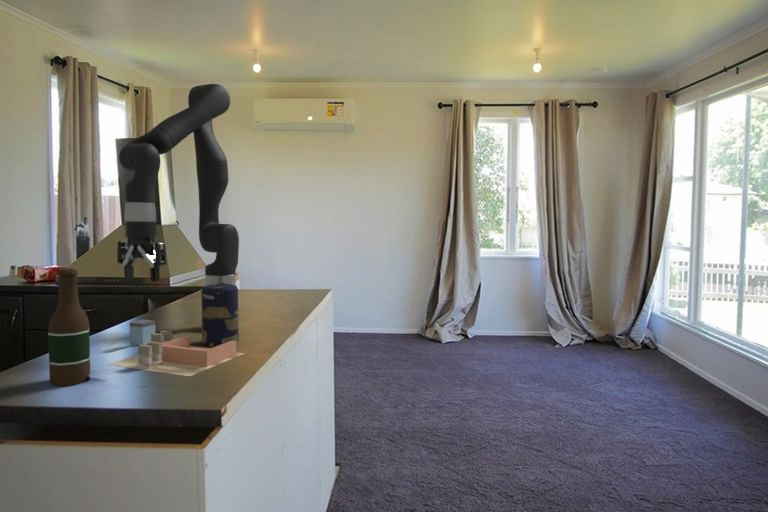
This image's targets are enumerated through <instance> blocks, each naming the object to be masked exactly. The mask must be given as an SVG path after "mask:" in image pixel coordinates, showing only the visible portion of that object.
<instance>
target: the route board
mask: <svg viewBox="0 0 768 512" xmlns="http://www.w3.org/2000/svg"><path fill="white" fill-rule="evenodd" d="M170 340H173V331H171V330H170V331H168V330H161V331H159V333H156V332H155V333H152V334H151V342H148V344H146V345H142V344H141V345H137V352H138V353H137V354H136V355H134V356H130V357H127V358H124V359H121V360H118V361H114V362H111V363H109V364H107V365H108V366H114V367H122V368H128V369H136V370H142V371H150V372H156V373H163V374H170V375H171V374H172V375H175V376H176V375H177V376H185V377H192V376H194V375H197V374H199V373H201V372H204V371H206V370H208V369H212V368H213V367H216V366H218V365H220V364H223V363H225V362H228V361H230V360H233V359H236V358H238V357H240V356H243V355H245V353H244V352H243V353H242V352H239V354H238V355H235V356H233V357H230V358H228V359H226V360H223V361H221V362H218V363H216V364H213V365H211V366H208V367H204V366H196V365H189V364H181V363H174V362H166V361H162V343H163V342H167V341H170Z"/></svg>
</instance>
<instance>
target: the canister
mask: <svg viewBox="0 0 768 512" xmlns="http://www.w3.org/2000/svg"><path fill="white" fill-rule="evenodd" d="M219 283H222V284H219ZM239 319H240V318H239V289H238V286H237V285H236V286H235V285H232V284H225V283H224V282H218V283H216V284H212V285H206V286H205V285H204V286H203V287H201V339H202V340H201V341H202V346H205V347H207V348H213V347H216V346H219V345H222V344H224V343H227V342H230V341H236V345H237V344H238V343H239V340H240V339H239V326H240V324H239Z"/></svg>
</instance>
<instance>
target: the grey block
mask: <svg viewBox="0 0 768 512" xmlns="http://www.w3.org/2000/svg"><path fill="white" fill-rule="evenodd" d="M152 333H156V320H150V319H142V318H141V319H139V320H134V321H130V322H129V347H130V348H132V347H135V346H138V345H141V344H142V345H148V342H151V334H152Z"/></svg>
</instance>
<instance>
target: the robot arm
mask: <svg viewBox="0 0 768 512" xmlns="http://www.w3.org/2000/svg"><path fill="white" fill-rule="evenodd" d="M187 97H188V98H187V99H188V101H187V102H188V107H187V108H184V109H183V110H180V111H179V112H177V113H175V114H173V115H170V116H168V117H166V118H165V119H164V120H162V121H161V122H159V123H158V124H157V125H155V126H154V127H153V128H152V129H150V130H149V132H147V133H145V134H143V135H141V136H139V137H136V138H134V139H133V140H131V141H130V142H128V143H127V144H125V145H124V146H123V147H122V148H121V150H120V151H119V153H118V160H119V164H120V165H121V166H122V167H123V168H124V169H125V170H126V171H127V170H128V171H131V172H134V175H133V177H132V179H130V180H127V182H126V183H125V189H124V190H125V208H124V235H125V238H127V240H119V241H118V242H117V261H116V262H117V264H121V265H122V266H123V268H124V269H123V272H124V279H125V280H126V281H132V280H134V278H135V275H134V274H135V272H134V271H135V270H134V264H135V262H136V260H138V259H144V260H145V262H147V263H148V264H149V266H150V269H149V271H150V272H149V273H150V282H153V283H154V282H158V281H159V280H160V273H161V272H160V271H161V270H160V268H161V267H162V266H164V265H166V264H167V255H166V243H165V242H164V241H162V242H156V241H155V239H156V237H157V209H156V194H155V193H156V191H155V187H156V184H157V180H158V176H159V173H160V167H161V157H160V155H165V154H167V153H169V152H171V151H172V150H173V149H174V148H175V147H177V145H178V144H180V143H181V142H182V141H183V140H185V139H186V138H188V136H189V135H191V134H192V133H193V141H194V148H195V149H194V150H195V152H194V153H195V164H196V165H195V166H196V178H197V185H198V186H197V187H198V204H199V205H198V207H199V211H198V212H199V214H198V215H199V216H198V217H199V218H198V240H199V244H200V246H201V248H202V249H203V251H205V252H208V253H216V254H215V259H214V261H213V262H211V263H209V264H207V265H205V268H204V275H205V279H204V282H205V283H204V284H205V285H204V286H206V285H212V284H216V283H218V282H224V283H225V284H232V285H235V286H237V284H236V282H237V281H236V280H237V279H236V278H237V277H236V274H237V273H236V270H237V267H238V265H239V249H240V248H239V247H240V245H239V244H240V237H239V232H238V230H237V228H236V226H235V225H233V224H230V223H220V219H219V209H220V204H221V201H222V199H223V197H224V194H225V192H226V190H227V188H228V185H229V169H228V168H229V165H228V159H227V156H226V154H225V152H224V150H223V148H222V147H221V145H220V144H219V142H218V141H217V138H216V136H215V133H214V128H213V127H214V126H213V119H215V118H217V117H220V116H221V115H224V114H225V113H227V111H228V110H229V108H230V104H231V96H230V94H229V92H228V90H227V88H226V87H225V86H223V85H222V84H218V83H208V84H201V85H196V86H193V87H191V89H190V91H189V92H188V96H187ZM219 284H222V283H219Z"/></svg>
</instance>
